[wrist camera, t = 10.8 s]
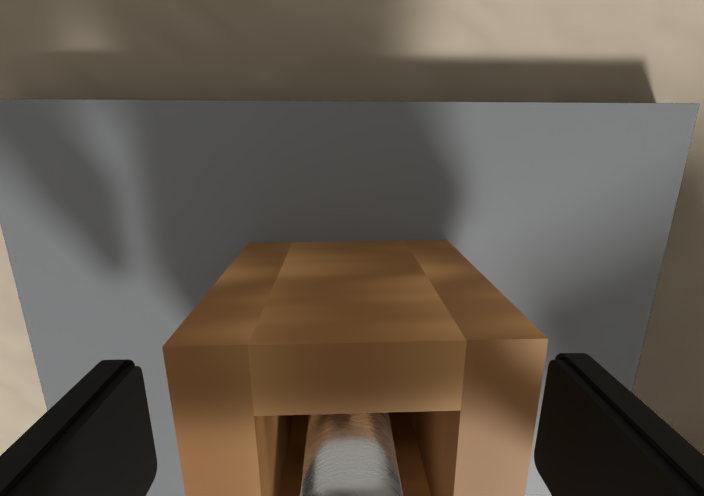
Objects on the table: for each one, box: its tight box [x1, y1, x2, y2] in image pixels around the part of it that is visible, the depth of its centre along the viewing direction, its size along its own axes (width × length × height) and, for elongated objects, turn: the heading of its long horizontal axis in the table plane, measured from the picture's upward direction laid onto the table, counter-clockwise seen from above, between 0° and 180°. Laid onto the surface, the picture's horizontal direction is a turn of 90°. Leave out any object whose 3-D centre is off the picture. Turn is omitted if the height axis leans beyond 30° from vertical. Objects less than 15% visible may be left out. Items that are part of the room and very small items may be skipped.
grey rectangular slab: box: [0, 99, 700, 496], centre depth 13 cm, size 20×14×2 cm
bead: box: [162, 240, 548, 496], centre depth 10 cm, size 6×6×6 cm
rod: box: [300, 413, 403, 496], centre depth 10 cm, size 2×2×6 cm
